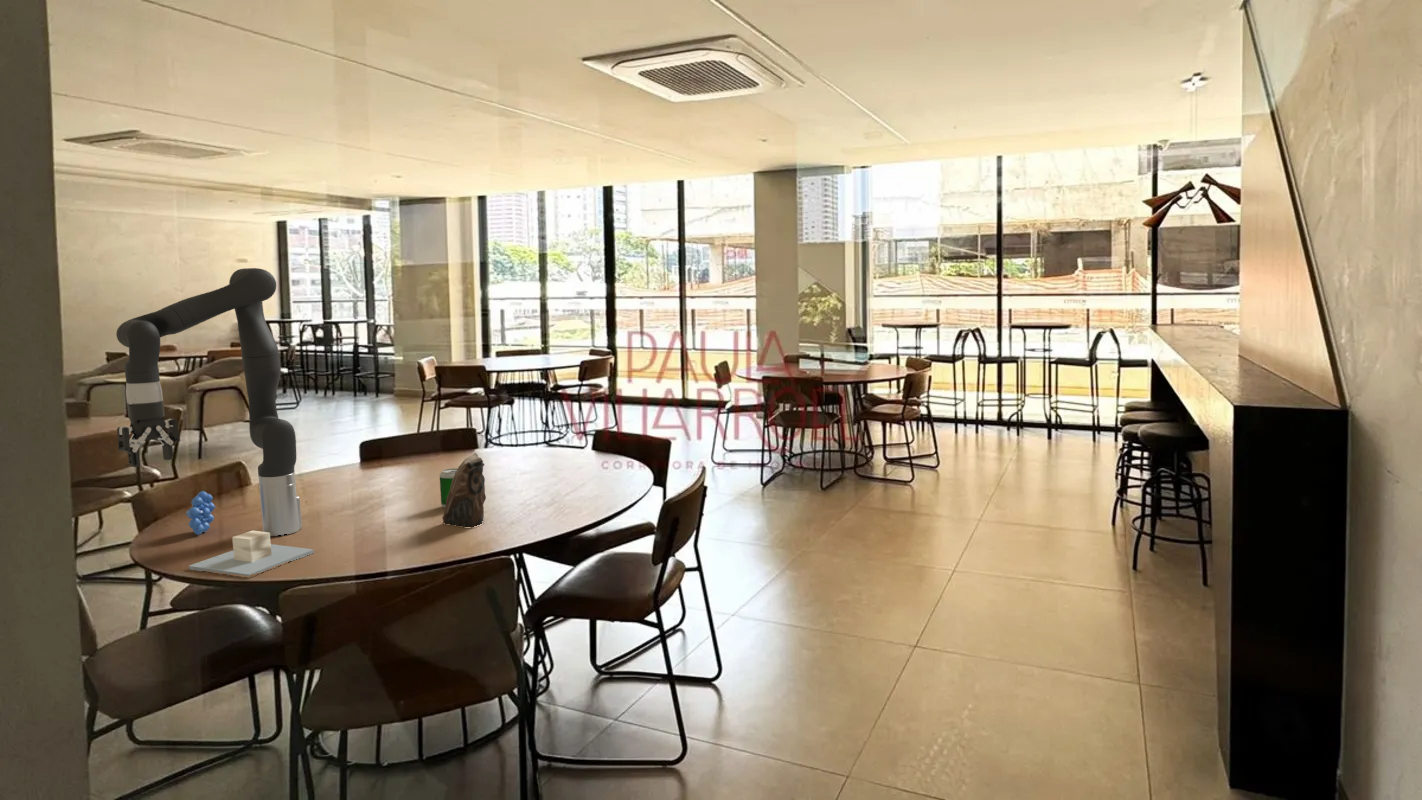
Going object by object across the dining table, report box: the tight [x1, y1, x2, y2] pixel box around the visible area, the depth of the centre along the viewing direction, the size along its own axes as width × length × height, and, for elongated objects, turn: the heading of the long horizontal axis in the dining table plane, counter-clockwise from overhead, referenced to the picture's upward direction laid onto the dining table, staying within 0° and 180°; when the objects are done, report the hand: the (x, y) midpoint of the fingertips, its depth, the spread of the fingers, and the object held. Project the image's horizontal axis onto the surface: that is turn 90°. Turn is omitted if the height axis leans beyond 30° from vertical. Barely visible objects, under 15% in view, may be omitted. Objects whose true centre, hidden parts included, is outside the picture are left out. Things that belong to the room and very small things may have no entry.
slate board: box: [188, 543, 315, 576], centre depth 213 cm, size 20×20×1 cm
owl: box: [442, 452, 487, 528], centre depth 244 cm, size 13×13×20 cm
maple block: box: [231, 529, 272, 562], centre depth 213 cm, size 6×6×6 cm
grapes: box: [185, 490, 216, 536], centre depth 237 cm, size 12×7×12 cm, turn 5°
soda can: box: [439, 467, 458, 509], centre depth 262 cm, size 8×8×12 cm
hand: (151, 463), depth 209 cm, fingers open, 8 cm apart
